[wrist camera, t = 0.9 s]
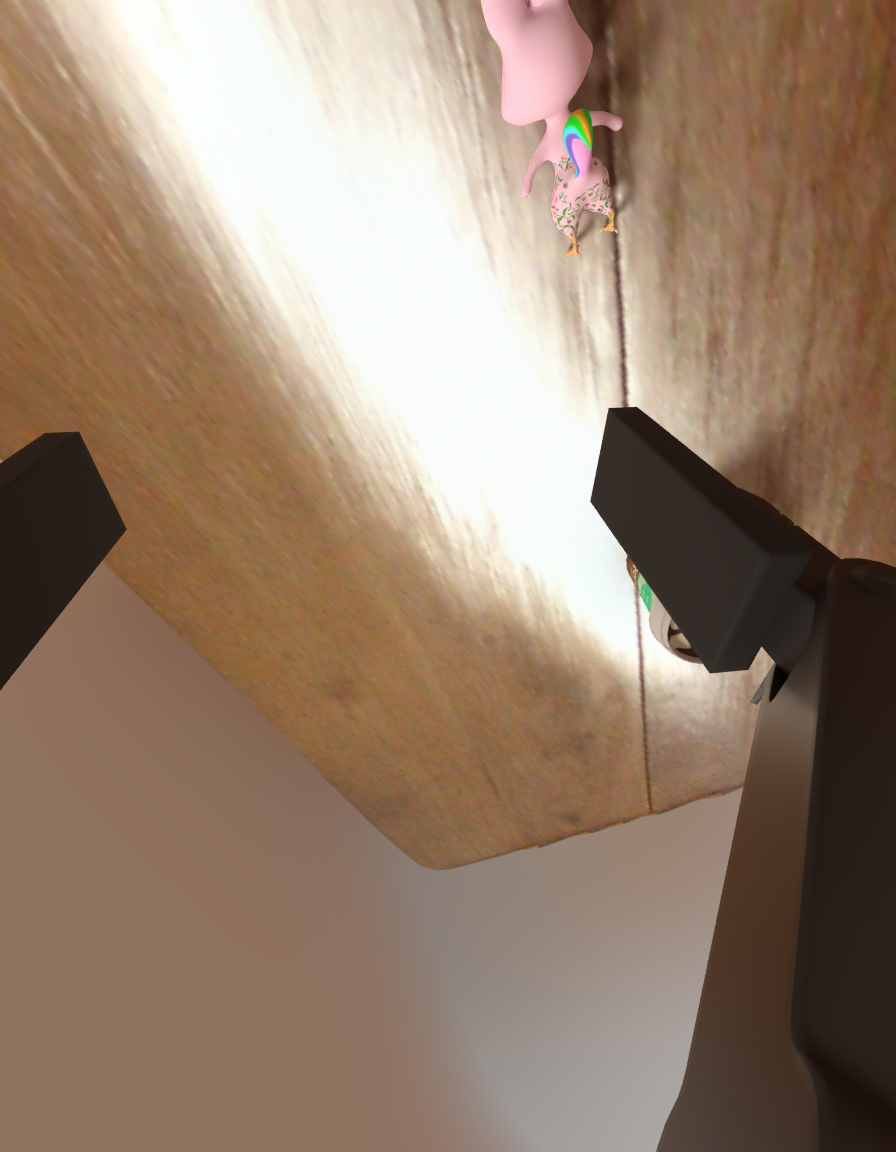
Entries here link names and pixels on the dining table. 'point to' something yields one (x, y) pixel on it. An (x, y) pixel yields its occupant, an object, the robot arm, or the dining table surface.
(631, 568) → the food container
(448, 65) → the dining table surface
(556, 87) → the rabbit figure
